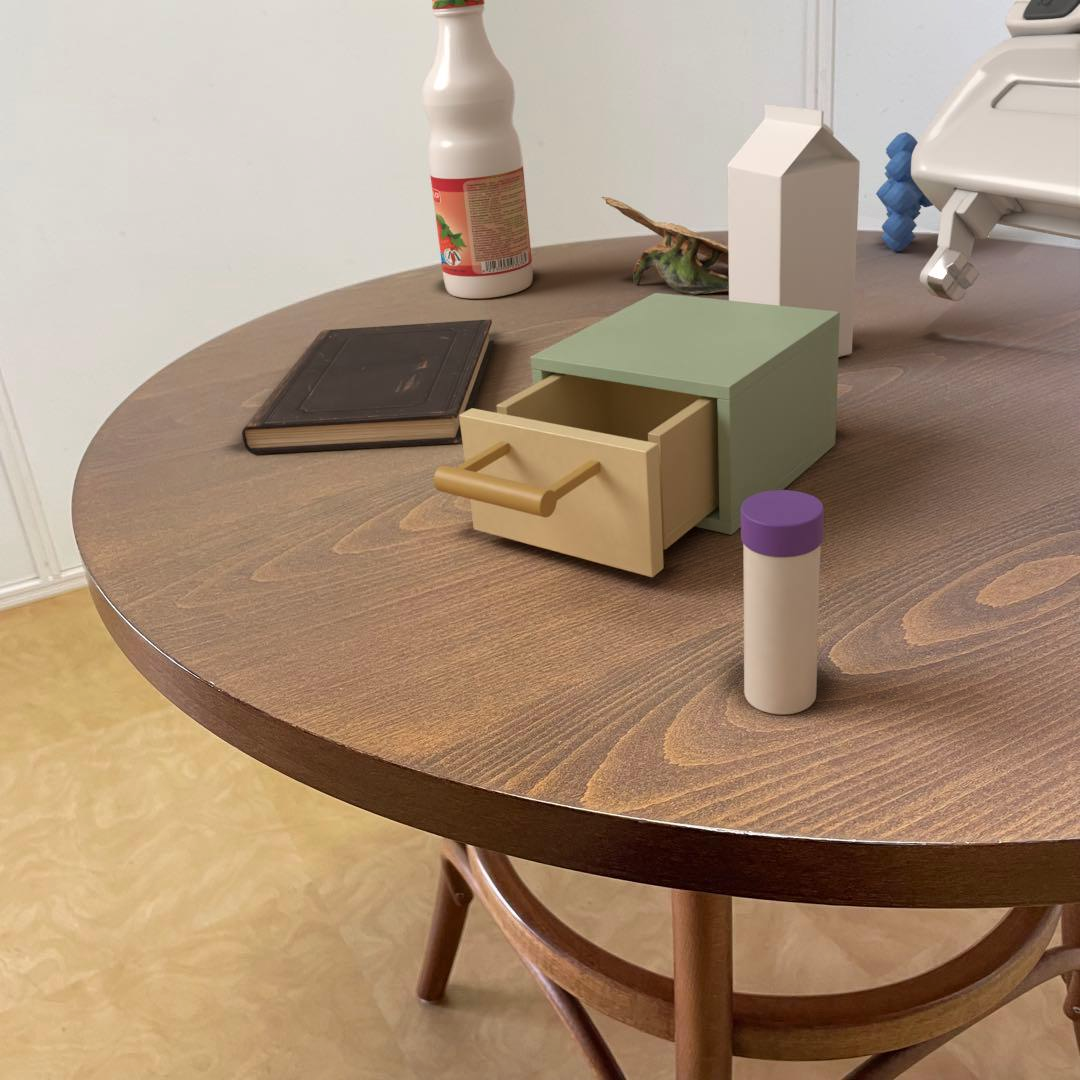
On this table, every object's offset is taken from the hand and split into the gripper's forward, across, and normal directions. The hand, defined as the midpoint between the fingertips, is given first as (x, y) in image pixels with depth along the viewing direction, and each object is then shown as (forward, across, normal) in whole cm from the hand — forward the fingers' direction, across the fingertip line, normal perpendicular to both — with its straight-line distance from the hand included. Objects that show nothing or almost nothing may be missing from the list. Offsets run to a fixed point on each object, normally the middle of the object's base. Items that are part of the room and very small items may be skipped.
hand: (1016, 313), depth 49 cm
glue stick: (+20, 0, -2) cm, 20 cm away
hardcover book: (+20, +51, -1) cm, 55 cm away
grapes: (-22, +55, -43) cm, 74 cm away
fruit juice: (+6, +75, -16) cm, 77 cm away
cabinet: (+12, +23, -10) cm, 28 cm away
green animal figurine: (-5, +61, -27) cm, 67 cm away
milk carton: (-1, +37, -23) cm, 44 cm away
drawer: (+18, +18, -2) cm, 26 cm away
